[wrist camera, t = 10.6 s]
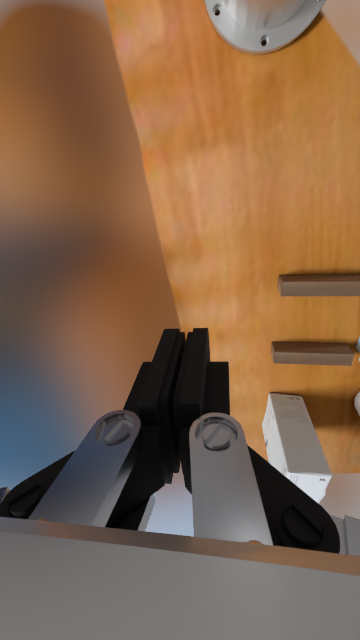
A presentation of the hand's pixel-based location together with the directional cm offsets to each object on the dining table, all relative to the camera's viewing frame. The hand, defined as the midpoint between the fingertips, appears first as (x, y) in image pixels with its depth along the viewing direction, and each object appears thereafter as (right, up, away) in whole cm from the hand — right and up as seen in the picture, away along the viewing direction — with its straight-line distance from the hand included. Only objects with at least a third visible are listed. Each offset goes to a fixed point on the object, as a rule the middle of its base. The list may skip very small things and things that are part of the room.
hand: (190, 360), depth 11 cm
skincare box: (+18, -15, +40) cm, 46 cm away
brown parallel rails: (+19, +2, +31) cm, 37 cm away
